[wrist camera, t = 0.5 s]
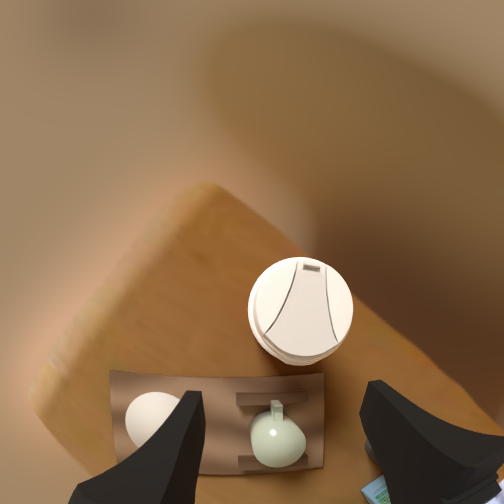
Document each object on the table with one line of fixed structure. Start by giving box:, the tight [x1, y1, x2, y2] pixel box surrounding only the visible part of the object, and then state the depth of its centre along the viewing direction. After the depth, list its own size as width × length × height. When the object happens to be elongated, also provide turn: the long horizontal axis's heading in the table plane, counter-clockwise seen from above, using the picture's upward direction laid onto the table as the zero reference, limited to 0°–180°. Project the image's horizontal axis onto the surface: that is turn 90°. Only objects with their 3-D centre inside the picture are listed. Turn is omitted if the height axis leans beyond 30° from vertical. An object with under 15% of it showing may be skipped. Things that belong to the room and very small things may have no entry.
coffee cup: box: [248, 257, 353, 366], centre depth 27 cm, size 8×8×15 cm
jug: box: [249, 400, 306, 468], centre depth 26 cm, size 7×5×6 cm
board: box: [109, 370, 324, 475], centre depth 28 cm, size 13×26×3 cm, turn 91°
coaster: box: [125, 392, 180, 448], centre depth 28 cm, size 9×9×1 cm
